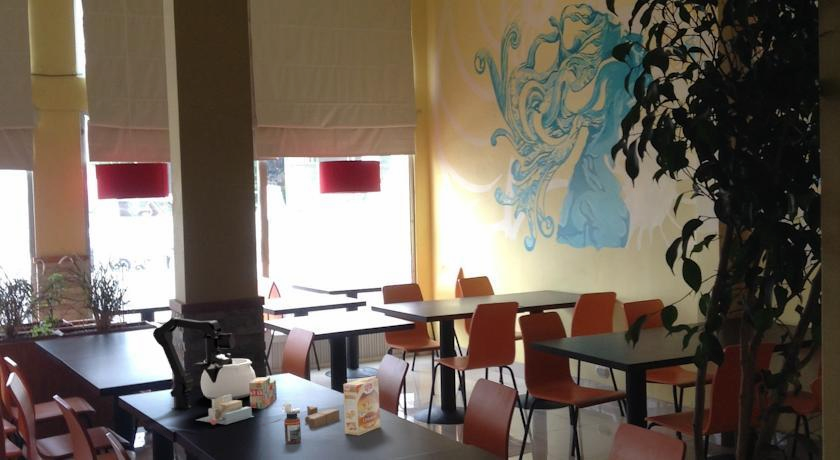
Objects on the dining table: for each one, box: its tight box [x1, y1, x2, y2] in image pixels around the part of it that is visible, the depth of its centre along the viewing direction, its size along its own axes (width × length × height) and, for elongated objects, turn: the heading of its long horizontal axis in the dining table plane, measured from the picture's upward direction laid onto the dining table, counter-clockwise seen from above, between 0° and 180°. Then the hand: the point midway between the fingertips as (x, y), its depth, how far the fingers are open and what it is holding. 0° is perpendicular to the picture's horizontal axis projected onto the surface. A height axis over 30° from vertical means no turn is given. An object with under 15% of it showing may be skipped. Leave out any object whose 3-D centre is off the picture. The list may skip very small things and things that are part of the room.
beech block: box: [219, 399, 243, 418], centre depth 364 cm, size 4×9×7 cm, turn 145°
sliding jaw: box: [208, 394, 233, 421], centre depth 367 cm, size 4×14×9 cm, turn 145°
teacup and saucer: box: [281, 403, 301, 413], centre depth 377 cm, size 9×8×4 cm
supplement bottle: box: [283, 411, 302, 445], centre depth 325 cm, size 6×6×11 cm
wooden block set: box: [304, 405, 340, 430], centre depth 357 cm, size 17×6×18 cm
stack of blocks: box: [249, 376, 278, 410], centre depth 397 cm, size 21×6×12 cm, turn 173°
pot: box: [200, 358, 257, 400], centre depth 420 cm, size 29×26×17 cm
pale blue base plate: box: [196, 406, 255, 426], centre depth 364 cm, size 19×22×5 cm
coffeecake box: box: [342, 377, 381, 436], centre depth 339 cm, size 15×7×20 cm, turn 148°
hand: (214, 382), depth 391 cm, fingers closed
